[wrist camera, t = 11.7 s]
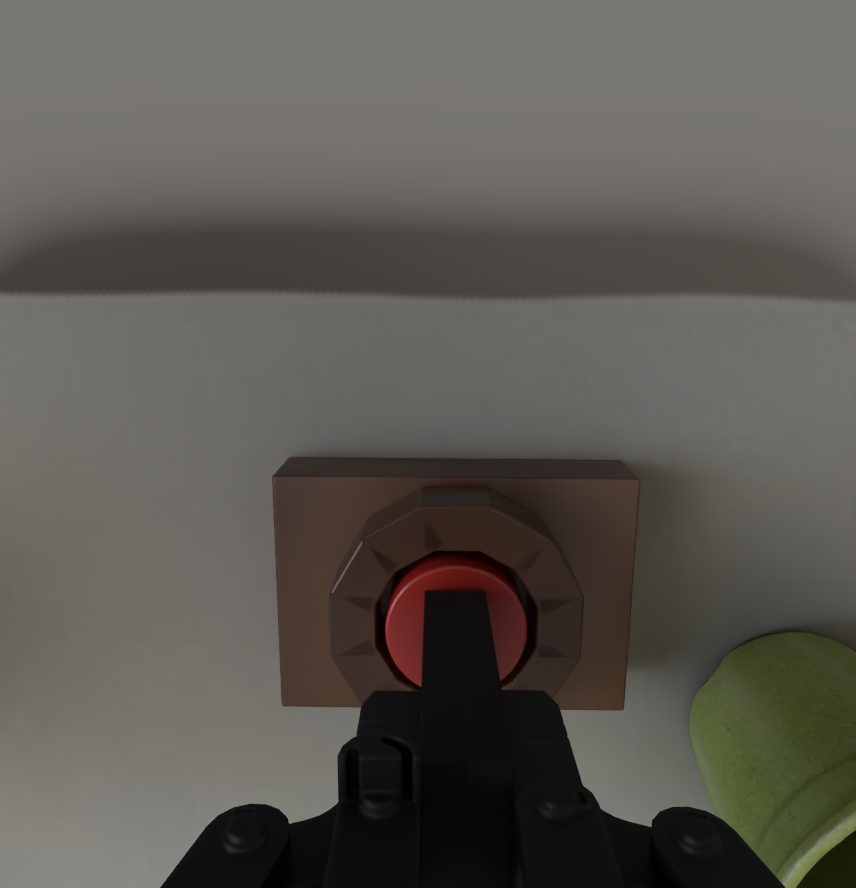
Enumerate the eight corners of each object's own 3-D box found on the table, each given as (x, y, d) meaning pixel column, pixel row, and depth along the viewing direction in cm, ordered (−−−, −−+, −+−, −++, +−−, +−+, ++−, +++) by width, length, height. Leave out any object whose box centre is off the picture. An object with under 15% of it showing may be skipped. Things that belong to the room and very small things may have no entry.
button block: (295, 668, 23) (266, 745, 19) (288, 456, 21) (254, 494, 17) (606, 671, 23) (642, 751, 19) (620, 459, 21) (662, 497, 17)
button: (389, 661, 20) (385, 696, 18) (388, 540, 19) (384, 565, 17) (517, 662, 20) (525, 698, 18) (521, 542, 19) (530, 566, 17)
